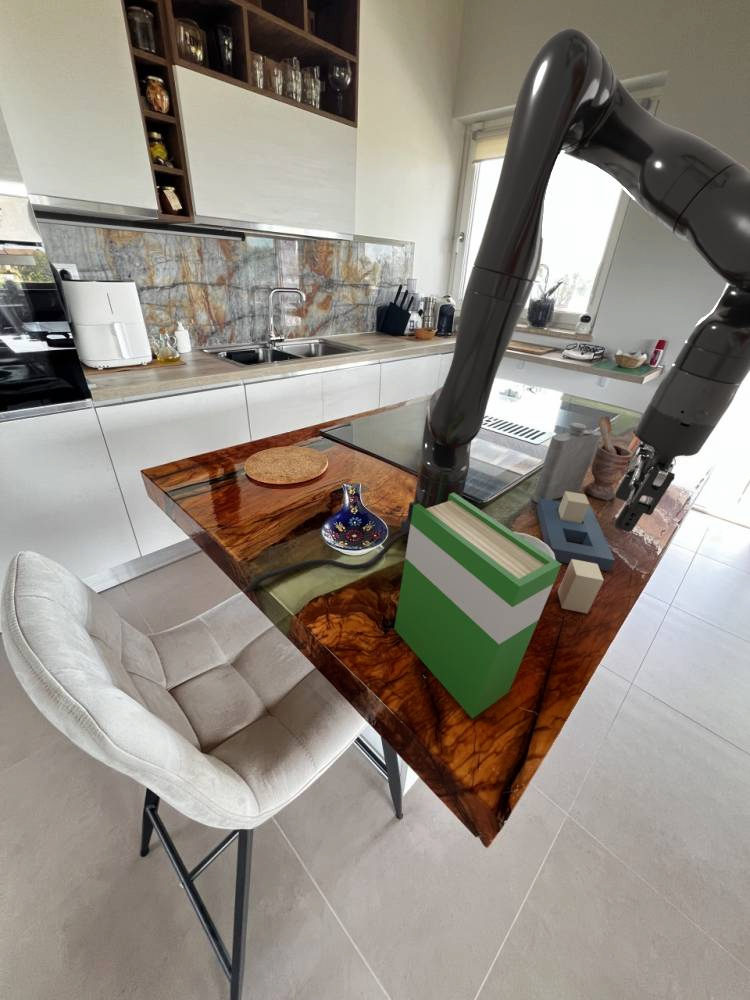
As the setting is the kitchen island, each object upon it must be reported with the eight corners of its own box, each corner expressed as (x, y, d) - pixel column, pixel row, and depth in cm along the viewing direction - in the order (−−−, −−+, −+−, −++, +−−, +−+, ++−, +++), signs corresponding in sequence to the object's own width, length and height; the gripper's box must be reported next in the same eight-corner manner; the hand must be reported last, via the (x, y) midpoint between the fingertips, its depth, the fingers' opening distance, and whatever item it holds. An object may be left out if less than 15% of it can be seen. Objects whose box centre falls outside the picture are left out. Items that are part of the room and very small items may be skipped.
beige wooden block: (557, 529, 97) (568, 500, 93) (554, 519, 101) (565, 490, 96) (577, 533, 96) (589, 504, 92) (573, 522, 100) (585, 494, 96)
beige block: (587, 613, 74) (603, 580, 70) (561, 608, 75) (576, 574, 70) (582, 596, 78) (597, 563, 74) (557, 591, 78) (571, 558, 74)
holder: (547, 559, 87) (552, 548, 85) (536, 508, 104) (539, 497, 103) (609, 571, 85) (615, 560, 83) (587, 517, 103) (591, 507, 101)
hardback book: (394, 628, 67) (413, 505, 55) (428, 611, 71) (453, 492, 59) (472, 718, 55) (519, 586, 43) (508, 692, 59) (561, 564, 47)
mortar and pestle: (565, 486, 116) (591, 419, 105) (578, 478, 121) (603, 412, 111) (608, 504, 109) (639, 433, 99) (619, 494, 114) (650, 426, 104)
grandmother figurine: (618, 449, 143) (633, 414, 136) (626, 448, 144) (642, 414, 138) (636, 459, 137) (652, 423, 130) (644, 458, 138) (661, 422, 131)
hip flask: (539, 504, 106) (563, 431, 96) (527, 496, 109) (550, 425, 98) (580, 493, 113) (607, 424, 102) (568, 486, 116) (594, 419, 105)
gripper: (648, 385, 57) (596, 482, 66) (655, 419, 46) (592, 529, 56) (709, 400, 55) (647, 498, 64) (731, 439, 44) (653, 551, 53)
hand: (621, 512), depth 60 cm, fingers open, 8 cm apart
